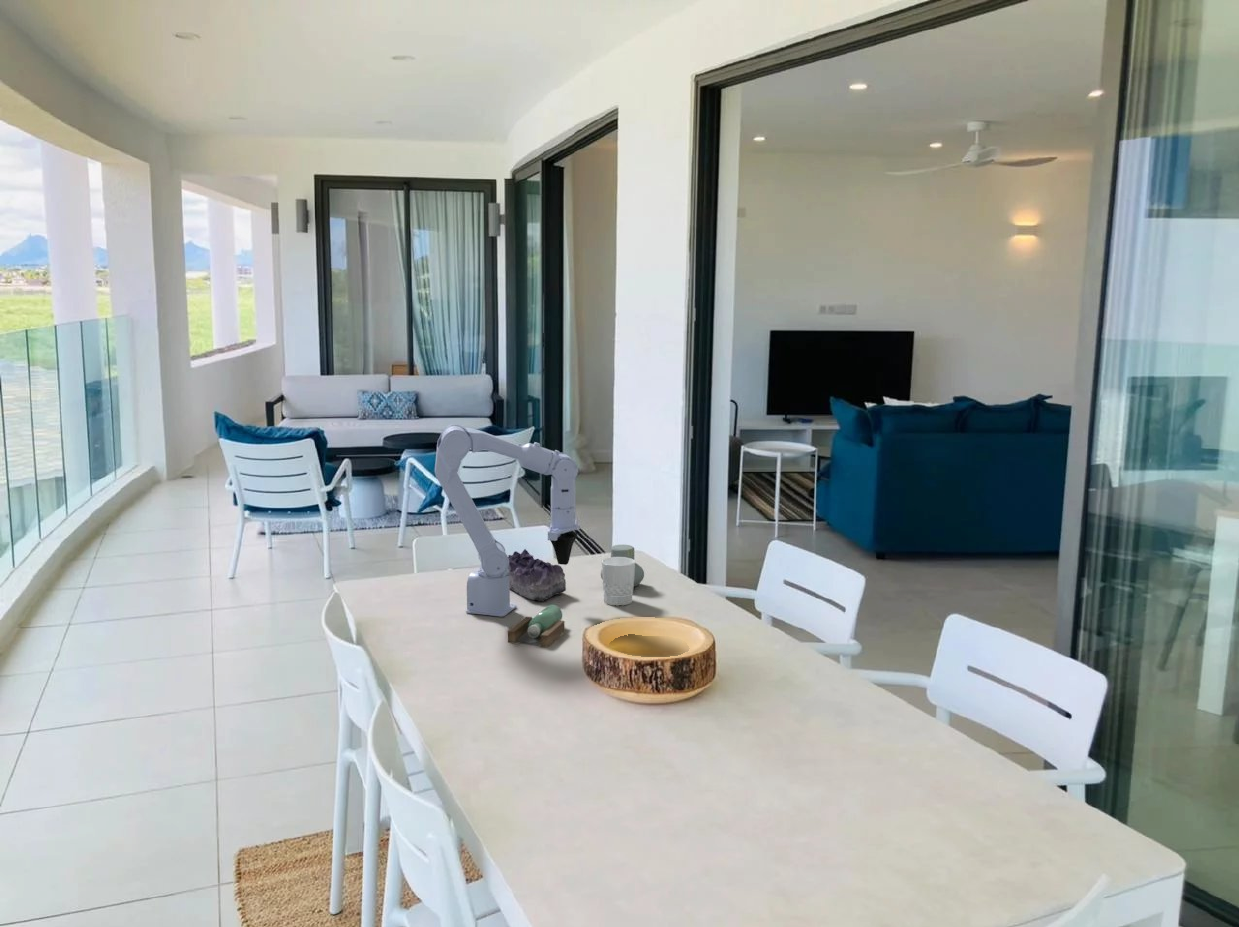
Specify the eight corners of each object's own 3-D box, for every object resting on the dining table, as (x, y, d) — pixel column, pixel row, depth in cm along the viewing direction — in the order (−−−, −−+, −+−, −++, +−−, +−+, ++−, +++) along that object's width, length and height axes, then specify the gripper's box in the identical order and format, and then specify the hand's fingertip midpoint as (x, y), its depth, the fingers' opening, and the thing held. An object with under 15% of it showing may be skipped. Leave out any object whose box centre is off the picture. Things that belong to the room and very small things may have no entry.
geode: (486, 586, 253) (490, 547, 253) (525, 584, 260) (528, 546, 260) (532, 603, 237) (535, 561, 237) (571, 600, 245) (575, 559, 244)
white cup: (634, 606, 237) (635, 565, 236) (601, 606, 237) (601, 565, 236) (634, 596, 245) (635, 556, 243) (602, 596, 245) (602, 556, 244)
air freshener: (649, 585, 255) (649, 546, 253) (632, 593, 248) (632, 553, 246) (612, 578, 261) (613, 540, 259) (595, 586, 254) (595, 547, 252)
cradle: (507, 642, 213) (507, 630, 212) (526, 627, 222) (526, 616, 222) (547, 647, 210) (547, 635, 210) (564, 631, 220) (564, 620, 219)
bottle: (541, 620, 224) (521, 637, 213) (546, 602, 223) (526, 618, 212) (559, 626, 223) (540, 644, 212) (564, 608, 222) (545, 625, 211)
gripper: (568, 514, 225) (568, 573, 227) (589, 501, 239) (589, 557, 241) (539, 512, 227) (539, 570, 229) (561, 499, 241) (561, 554, 243)
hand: (563, 563), depth 235 cm, fingers closed
